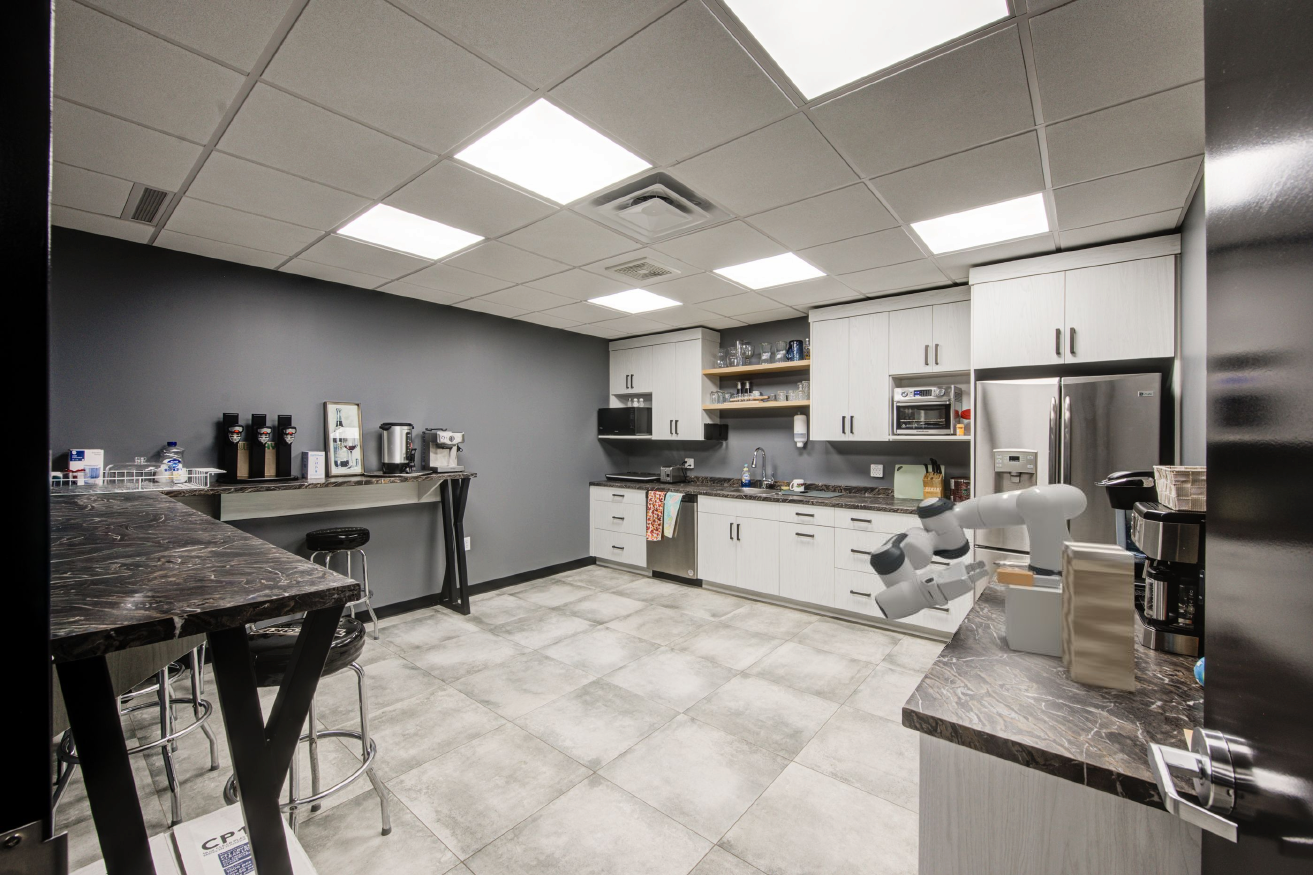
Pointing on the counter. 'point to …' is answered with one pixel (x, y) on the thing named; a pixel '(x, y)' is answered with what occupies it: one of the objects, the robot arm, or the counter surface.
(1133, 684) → the socket tower
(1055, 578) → the plug
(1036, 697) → the counter surface
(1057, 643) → the pedestal
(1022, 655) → the counter surface
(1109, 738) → the counter surface
